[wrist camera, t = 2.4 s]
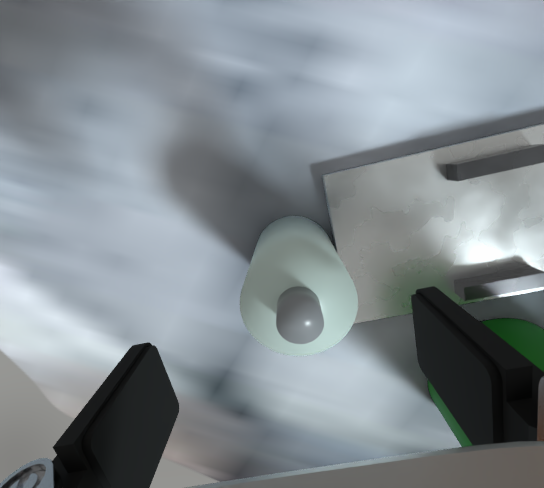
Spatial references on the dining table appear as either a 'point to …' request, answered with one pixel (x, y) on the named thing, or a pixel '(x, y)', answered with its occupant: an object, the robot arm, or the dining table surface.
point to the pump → (297, 290)
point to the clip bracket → (442, 222)
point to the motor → (521, 336)
